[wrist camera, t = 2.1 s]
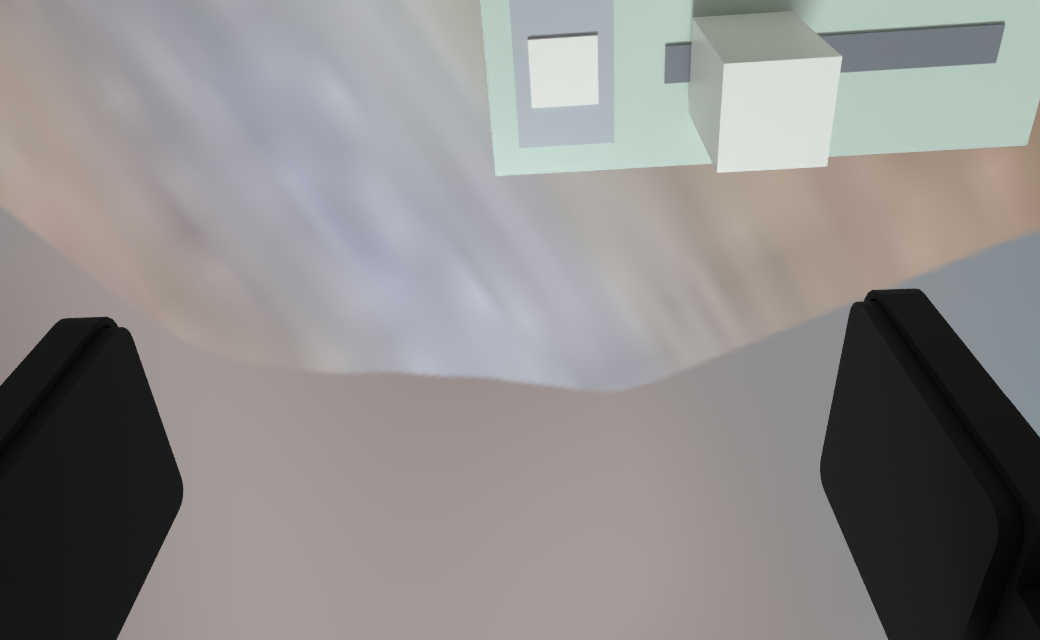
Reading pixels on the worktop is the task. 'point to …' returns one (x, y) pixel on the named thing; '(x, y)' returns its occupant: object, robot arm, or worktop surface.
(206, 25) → the worktop surface
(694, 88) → the switch
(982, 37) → the switch box
